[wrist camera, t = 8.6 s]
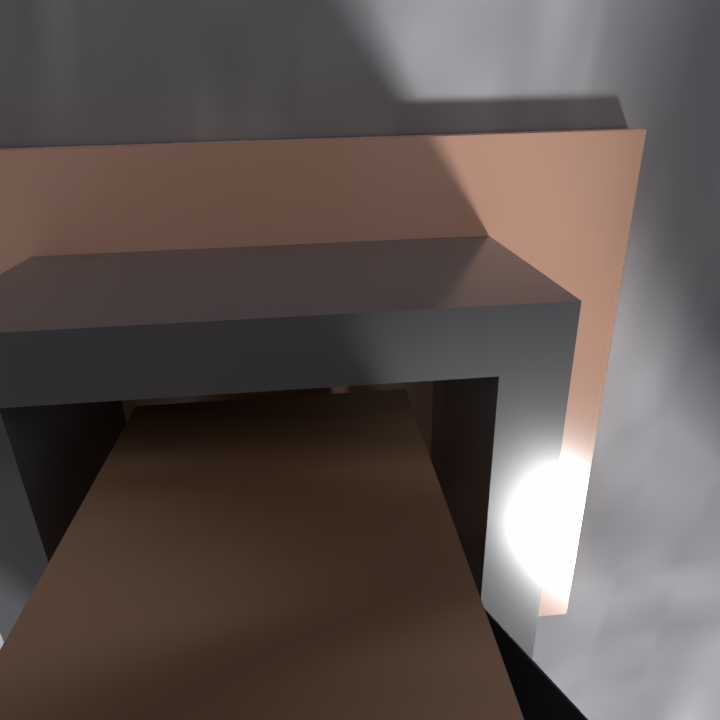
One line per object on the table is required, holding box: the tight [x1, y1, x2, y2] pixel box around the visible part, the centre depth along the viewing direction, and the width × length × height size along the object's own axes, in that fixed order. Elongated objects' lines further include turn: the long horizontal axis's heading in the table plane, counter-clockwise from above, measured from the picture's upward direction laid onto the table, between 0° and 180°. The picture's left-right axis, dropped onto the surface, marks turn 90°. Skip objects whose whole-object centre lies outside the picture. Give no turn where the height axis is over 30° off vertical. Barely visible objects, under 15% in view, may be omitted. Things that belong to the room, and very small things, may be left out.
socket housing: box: [0, 128, 647, 659], centre depth 11 cm, size 14×12×5 cm
